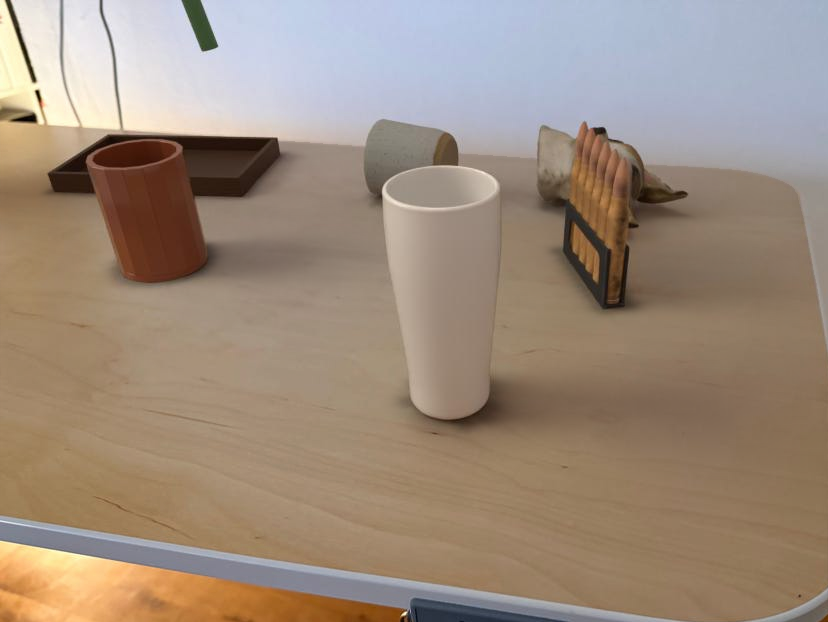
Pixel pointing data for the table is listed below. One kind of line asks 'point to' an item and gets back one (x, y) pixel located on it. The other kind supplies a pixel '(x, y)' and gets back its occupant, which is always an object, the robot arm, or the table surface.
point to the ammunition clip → (598, 218)
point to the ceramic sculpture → (559, 162)
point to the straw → (200, 24)
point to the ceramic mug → (404, 151)
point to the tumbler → (149, 208)
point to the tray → (206, 161)
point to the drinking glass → (445, 282)
